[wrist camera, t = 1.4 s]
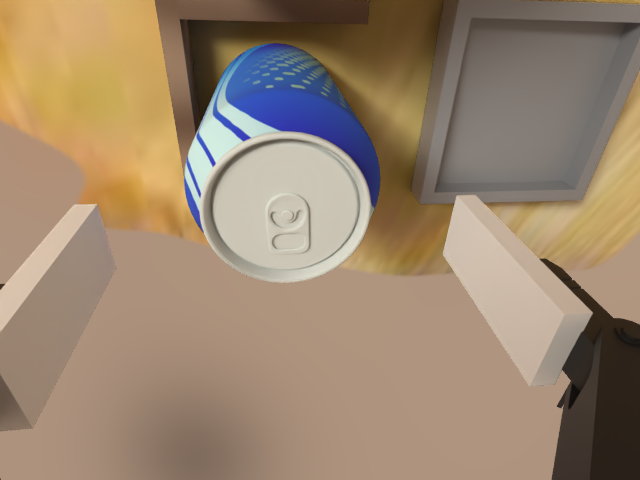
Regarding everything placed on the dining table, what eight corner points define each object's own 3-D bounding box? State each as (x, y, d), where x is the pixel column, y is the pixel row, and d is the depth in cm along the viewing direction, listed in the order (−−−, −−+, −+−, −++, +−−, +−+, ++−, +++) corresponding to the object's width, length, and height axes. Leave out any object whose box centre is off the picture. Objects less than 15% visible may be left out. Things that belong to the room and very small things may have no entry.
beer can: (194, 116, 28) (132, 240, 15) (262, 10, 25) (258, 48, 12) (289, 180, 32) (306, 326, 19) (359, 94, 29) (438, 195, 16)
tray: (444, -4, 26) (459, -2, 24) (638, 3, 28) (667, 5, 26) (410, 190, 34) (419, 204, 32) (564, 187, 35) (582, 200, 33)
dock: (163, -8, 24) (153, -7, 22) (361, -1, 26) (369, 1, 23) (194, 191, 32) (189, 207, 29) (346, 188, 33) (352, 203, 31)
